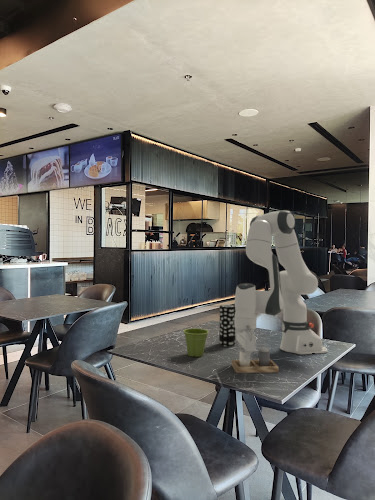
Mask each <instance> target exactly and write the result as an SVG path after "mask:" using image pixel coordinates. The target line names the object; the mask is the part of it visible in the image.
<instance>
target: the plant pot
mask: <svg viewBox="0 0 375 500" xmlns="http://www.w3.org/2000/svg"><path fill="white" fill-rule="evenodd" d="M183 333H184V336H185V342H186V349H187V351H186V352H187V355H188V356H189V357H197V358H199V357H200V358H202V356H204V352H205V347H206V341H207V338H208V335H209V330H208V329H205V328H195V327H194V328H186V329H183Z"/></svg>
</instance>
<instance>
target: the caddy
mask: <svg viewBox="0 0 375 500" xmlns="http://www.w3.org/2000/svg"><path fill="white" fill-rule="evenodd" d="M231 366H232V368H233V371H235V372H236V373H237V374H238V373H239V374H240V373H243V374H247V373H248V374H249V373H279V372H280V371H279V369H280V368H279V366H278V365H277V363H275V361H274V360H272V359H270V366H262V367H259V359H250V367H239V359H231Z"/></svg>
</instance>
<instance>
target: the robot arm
mask: <svg viewBox="0 0 375 500" xmlns="http://www.w3.org/2000/svg"><path fill="white" fill-rule="evenodd" d="M295 227H296V218H295V216H294V215H293V213H292V211H290V210H286V209H285V210H278V211H271V212H270V211H269V212H268V213H264V214H259V215H257V216H254V217H253V218H251V220H250V223H249V229H248V232H247V236H246V241H245V242H246V243H245V255H246V256H247V258H248V259H249V260H250V261H252V263H254V264H256V265H259V266H261V267H263V268H266V269H267V271H268V275H269V276H268V277H269V290H259V289H258V290H256V285H255V284H253V283H251V282H249V283H248V282H244V283H240V284H238V285H237V286H236V288H235V295H234V306H235V308H236V312H235V319H234V324H235V340H236V341H237V343H239V349H240V348H244V350H245V352H246V356H245V360H246V361H250V360H251V356H252V353H255V352H256V335H255V332H254V330H255V329H257V314H263V315H264V314H265V315H268V316H274V317H275V316H276V315H279V313H281V312H282V311H283V319H282V325H281V330H282V334H281V335H282V338H281V342H280V346H279V349H280V350H282V351H284V352H287V353H294V354H296V355H297V354H298V355H313V354H312V353H315V354H324V353H328V349H327V347H326V346H323V341H322V339H321V337H320V336H319V335H318V334H316V332H315V331H313V330H312V329H311V328H314V327H315V325H314V323H312V322H308V321H307V317H308V315H307V313H308V310H307V304H306V302H304V300H303V298H302V296H301V295H303V296H304V295H312V294H314V293H315V292H316V291H317V289H318V286H319V280H318V278H317V277H316V276H315V275H314V274H313V273H312V271H310V269H309V268H308V266H307V265H306V262H305V261H304V259H303V256H302V253H301V248H300V244H299V242H298V237H297V234H296V232H295V229H294V228H295ZM272 238H273V239H272ZM272 241H273V242H274V246H275V252H276V254H274V253H273V251H272ZM276 255H277V256H276ZM279 264H280V265H281V266H282V267H283V268H284V269H285V270H281V271H280V265H279Z"/></svg>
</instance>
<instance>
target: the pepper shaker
mask: <svg viewBox="0 0 375 500" xmlns="http://www.w3.org/2000/svg"><path fill="white" fill-rule="evenodd" d="M270 352H271V350H270V349H269V348H268V347H259V350H258V360H259V367H262V366H270V360H271V359H270V354H271V353H270Z"/></svg>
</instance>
